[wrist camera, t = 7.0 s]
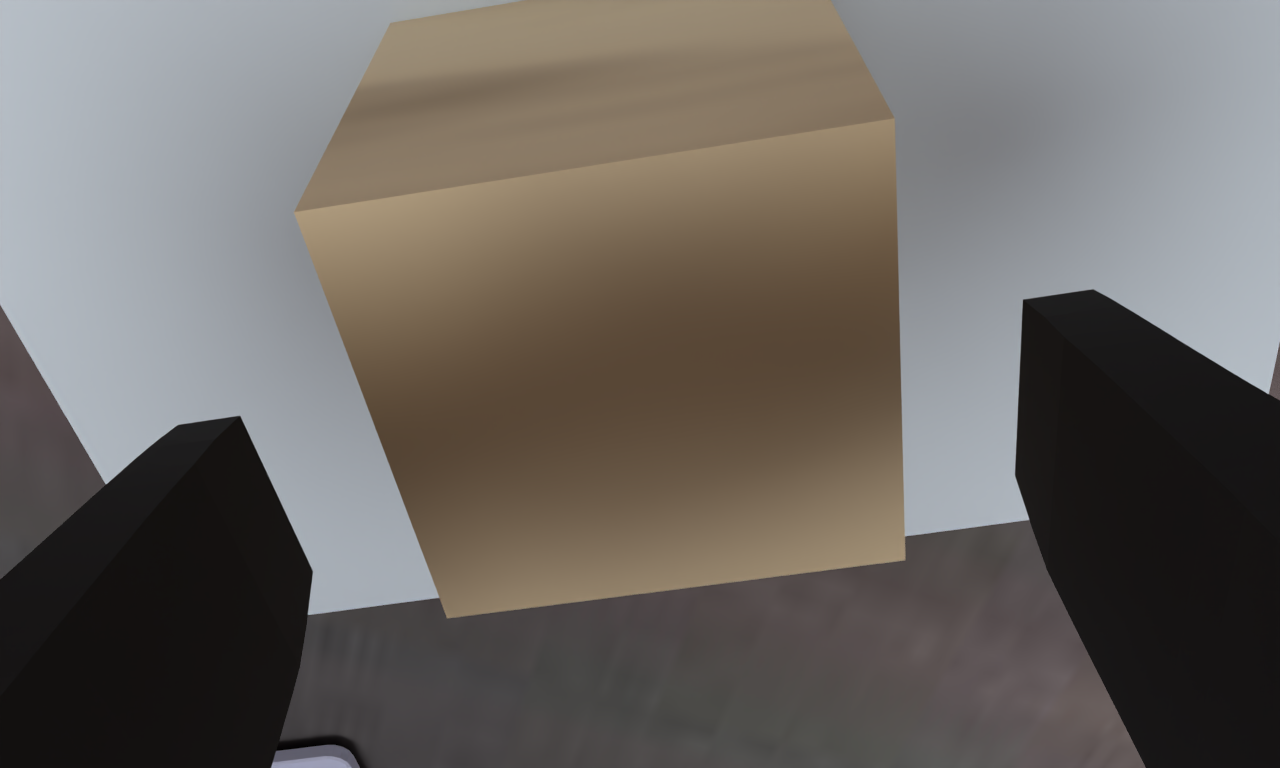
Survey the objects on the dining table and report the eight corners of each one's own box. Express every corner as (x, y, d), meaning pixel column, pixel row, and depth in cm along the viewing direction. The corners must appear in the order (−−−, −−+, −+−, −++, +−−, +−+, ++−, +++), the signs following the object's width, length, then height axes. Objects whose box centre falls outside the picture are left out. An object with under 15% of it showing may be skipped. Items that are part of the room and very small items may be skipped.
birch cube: (829, 311, 16) (905, 559, 12) (487, 360, 16) (447, 618, 12) (805, -47, 13) (894, 117, 9) (390, 22, 13) (294, 212, 9)
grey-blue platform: (1171, 383, 20) (1247, 491, 18) (238, 514, 22) (191, 630, 19) (1319, -620, 12) (1493, -671, 10) (-179, -312, 14) (-350, -292, 11)
